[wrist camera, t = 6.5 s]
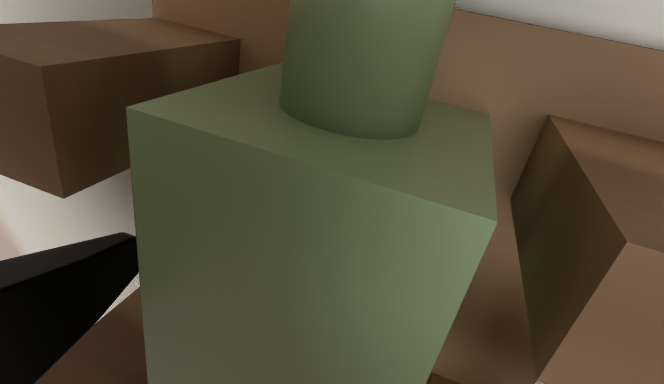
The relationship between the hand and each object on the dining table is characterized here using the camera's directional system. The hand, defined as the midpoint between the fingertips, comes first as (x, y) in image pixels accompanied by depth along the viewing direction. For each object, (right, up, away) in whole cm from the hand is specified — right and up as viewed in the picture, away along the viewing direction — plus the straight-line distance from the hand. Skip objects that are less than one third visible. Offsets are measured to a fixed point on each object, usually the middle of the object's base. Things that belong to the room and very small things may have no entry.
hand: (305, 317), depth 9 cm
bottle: (+1, +3, +1) cm, 3 cm away
